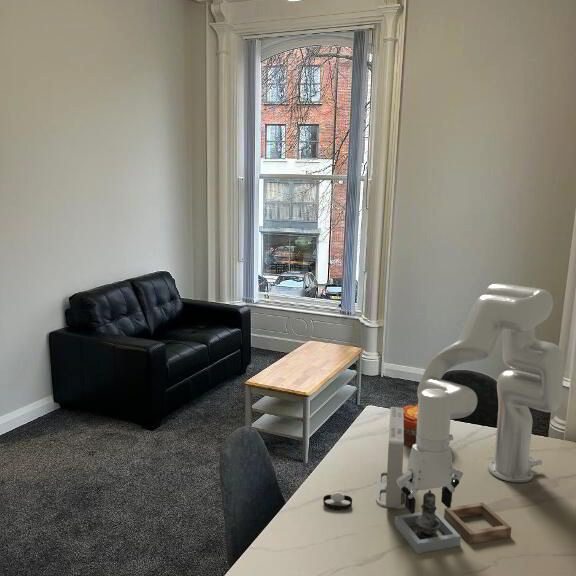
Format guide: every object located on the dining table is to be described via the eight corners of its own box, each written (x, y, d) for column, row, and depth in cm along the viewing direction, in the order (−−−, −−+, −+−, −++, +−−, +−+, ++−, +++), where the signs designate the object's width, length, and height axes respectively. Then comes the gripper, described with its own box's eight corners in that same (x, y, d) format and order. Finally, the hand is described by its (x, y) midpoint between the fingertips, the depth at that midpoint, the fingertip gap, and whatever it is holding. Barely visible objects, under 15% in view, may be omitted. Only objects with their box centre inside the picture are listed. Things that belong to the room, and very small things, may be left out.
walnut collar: (482, 511, 145) (482, 502, 144) (510, 536, 134) (511, 527, 134) (444, 517, 142) (444, 508, 141) (469, 544, 131) (470, 534, 131)
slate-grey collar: (435, 518, 141) (435, 509, 141) (460, 545, 130) (460, 536, 130) (394, 525, 138) (395, 516, 138) (417, 553, 127) (417, 543, 127)
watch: (351, 502, 149) (352, 490, 148) (352, 512, 144) (353, 499, 143) (323, 501, 149) (323, 488, 148) (323, 511, 144) (323, 498, 144)
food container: (414, 428, 196) (416, 400, 194) (455, 443, 184) (457, 413, 183) (387, 441, 185) (388, 411, 184) (428, 458, 174) (430, 426, 172)
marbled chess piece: (411, 528, 137) (414, 483, 135) (434, 527, 137) (437, 483, 135) (419, 543, 131) (422, 496, 129) (443, 542, 132) (446, 495, 130)
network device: (408, 517, 142) (412, 444, 138) (374, 512, 143) (377, 440, 140) (407, 469, 166) (411, 406, 163) (378, 466, 168) (381, 404, 165)
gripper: (455, 431, 136) (451, 495, 139) (391, 438, 131) (388, 504, 134) (473, 444, 129) (468, 511, 132) (406, 452, 124) (403, 521, 127)
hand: (428, 507), depth 133 cm, fingers open, 9 cm apart
